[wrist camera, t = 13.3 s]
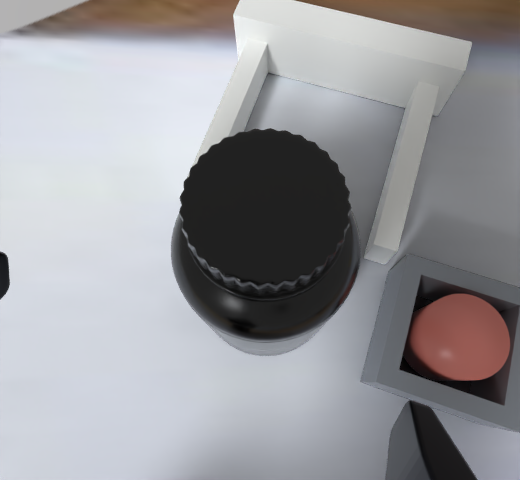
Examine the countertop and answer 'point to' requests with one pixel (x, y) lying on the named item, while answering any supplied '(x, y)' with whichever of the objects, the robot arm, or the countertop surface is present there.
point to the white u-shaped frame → (346, 83)
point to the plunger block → (396, 329)
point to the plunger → (457, 339)
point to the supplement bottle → (265, 240)
